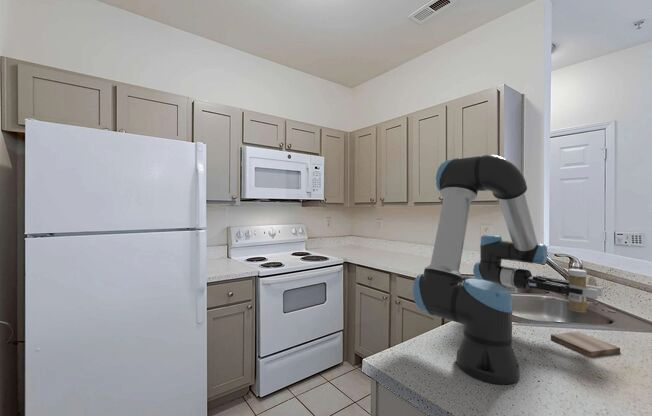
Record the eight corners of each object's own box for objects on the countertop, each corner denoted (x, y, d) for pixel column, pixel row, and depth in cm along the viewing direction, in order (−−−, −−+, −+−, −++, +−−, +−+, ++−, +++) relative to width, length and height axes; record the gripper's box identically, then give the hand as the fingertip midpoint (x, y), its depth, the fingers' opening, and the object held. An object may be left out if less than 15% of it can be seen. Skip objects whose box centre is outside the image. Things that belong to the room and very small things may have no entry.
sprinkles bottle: (590, 312, 92) (590, 271, 92) (578, 313, 91) (578, 271, 91) (575, 307, 96) (576, 268, 96) (564, 308, 96) (564, 268, 96)
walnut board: (590, 356, 85) (590, 351, 85) (550, 338, 97) (550, 334, 97) (620, 352, 88) (620, 347, 88) (578, 335, 99) (578, 331, 99)
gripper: (526, 284, 113) (606, 300, 94) (506, 291, 104) (591, 310, 84) (526, 265, 113) (607, 277, 94) (506, 270, 104) (591, 285, 84)
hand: (599, 293), depth 89 cm, fingers closed on sprinkles bottle, 4 cm apart
